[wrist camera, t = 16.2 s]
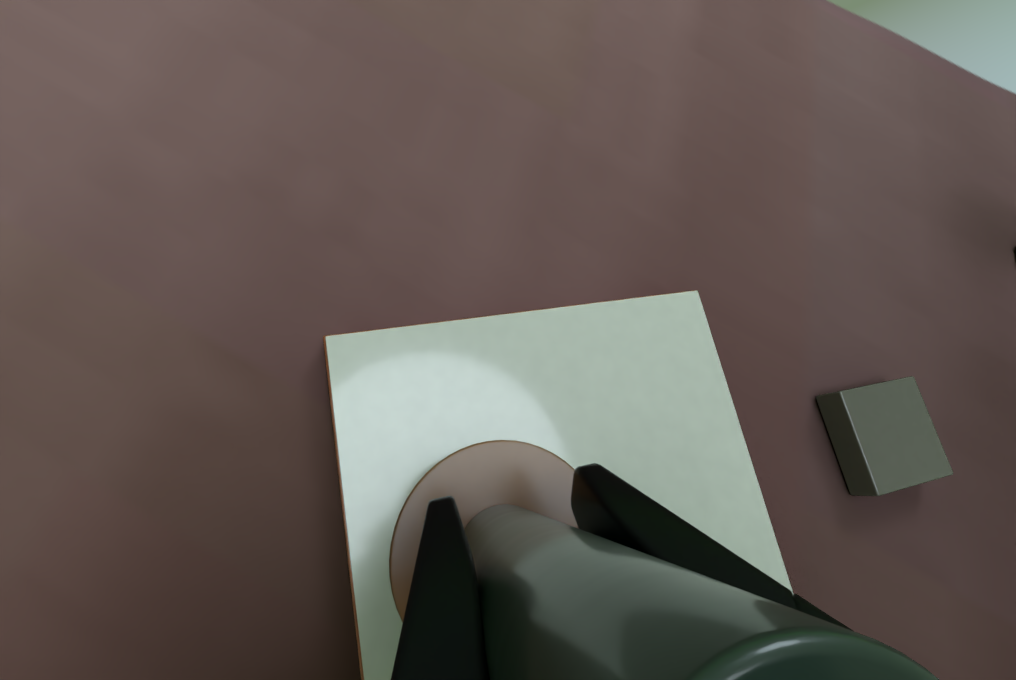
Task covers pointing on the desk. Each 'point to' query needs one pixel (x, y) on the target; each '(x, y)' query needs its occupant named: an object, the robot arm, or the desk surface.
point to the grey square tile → (883, 437)
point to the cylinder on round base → (610, 591)
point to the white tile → (538, 424)
